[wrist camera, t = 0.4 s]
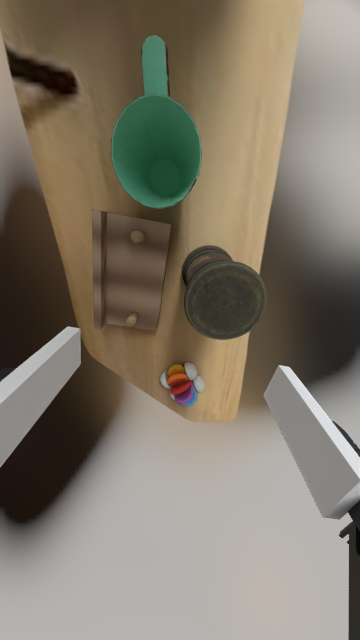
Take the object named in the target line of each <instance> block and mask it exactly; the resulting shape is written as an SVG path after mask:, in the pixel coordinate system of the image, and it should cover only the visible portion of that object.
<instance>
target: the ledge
mask: <svg viewBox="0 0 360 640" xmlns="http://www.w3.org/2000/svg"><path fill="white" fill-rule="evenodd" d="M92 227H93V283H94V328H97V329H101V328H102V327H103V326H104V325H105V324H106V323H107V324H113V325H120V326H126V327H132V328H139V329H145V330H151V331H157V327H158V323H159V316H160V308H161V301H162V294H163V286H164V279H165V272H166V264H167V257H168V250H169V243H170V235H171V228H172V224H167V223H162V222H157V221H151V220H146V219H141V218H136V217H130V216H125V215H120V214H114V213H109V212H104V211H100V210H95V209H92Z"/></svg>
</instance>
